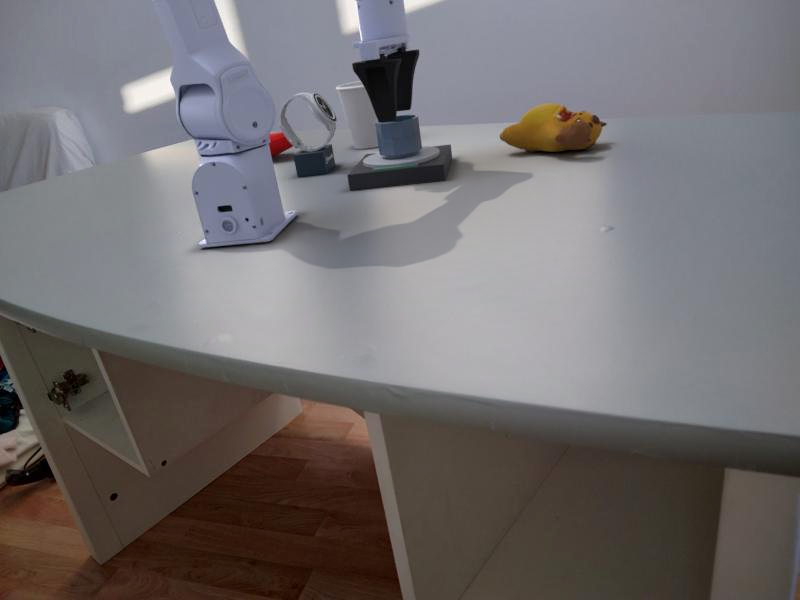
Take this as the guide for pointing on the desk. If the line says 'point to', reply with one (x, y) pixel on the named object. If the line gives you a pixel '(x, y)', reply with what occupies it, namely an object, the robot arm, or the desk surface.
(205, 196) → the robot arm
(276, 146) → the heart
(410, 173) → the scale
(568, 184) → the desk surface
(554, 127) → the toy
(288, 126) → the watch
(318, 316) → the desk surface
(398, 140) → the blue cup
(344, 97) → the dixie cup
